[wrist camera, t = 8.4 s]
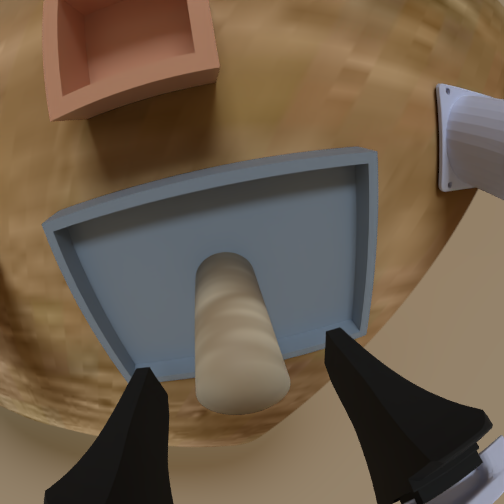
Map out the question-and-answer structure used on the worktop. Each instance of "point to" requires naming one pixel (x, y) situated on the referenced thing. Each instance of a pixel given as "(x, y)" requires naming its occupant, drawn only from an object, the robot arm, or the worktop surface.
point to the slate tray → (224, 240)
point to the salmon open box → (123, 52)
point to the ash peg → (235, 340)
